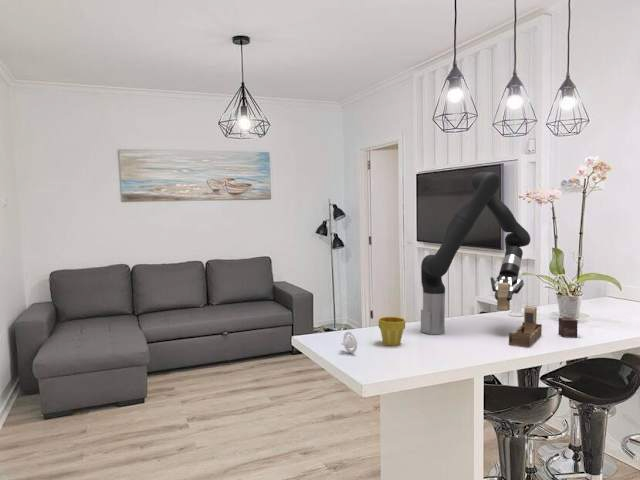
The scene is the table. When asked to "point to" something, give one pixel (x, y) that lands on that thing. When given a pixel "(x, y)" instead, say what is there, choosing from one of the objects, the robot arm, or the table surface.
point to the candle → (517, 300)
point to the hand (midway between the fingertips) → (502, 299)
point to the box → (568, 327)
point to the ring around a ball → (350, 342)
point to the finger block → (503, 296)
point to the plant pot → (391, 330)
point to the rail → (524, 336)
